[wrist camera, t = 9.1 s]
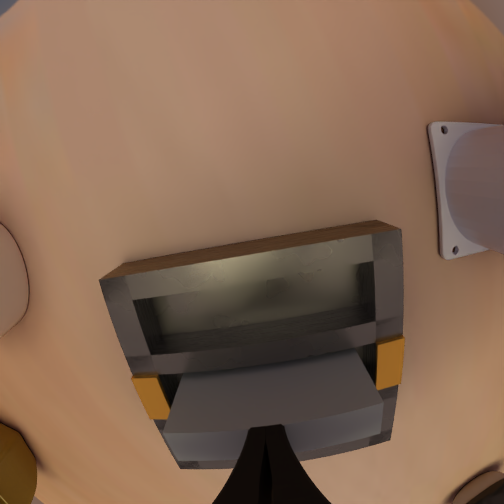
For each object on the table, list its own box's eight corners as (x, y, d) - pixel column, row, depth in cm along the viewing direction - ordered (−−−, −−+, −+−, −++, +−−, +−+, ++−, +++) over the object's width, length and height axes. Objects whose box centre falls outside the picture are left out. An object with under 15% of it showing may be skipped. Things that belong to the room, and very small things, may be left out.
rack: (376, 220, 15) (404, 230, 12) (377, 412, 18) (391, 442, 15) (123, 263, 16) (95, 281, 13) (187, 439, 19) (179, 471, 16)
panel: (346, 334, 16) (383, 402, 10) (347, 362, 16) (380, 433, 10) (188, 359, 16) (162, 433, 10) (197, 385, 17) (177, 460, 11)
